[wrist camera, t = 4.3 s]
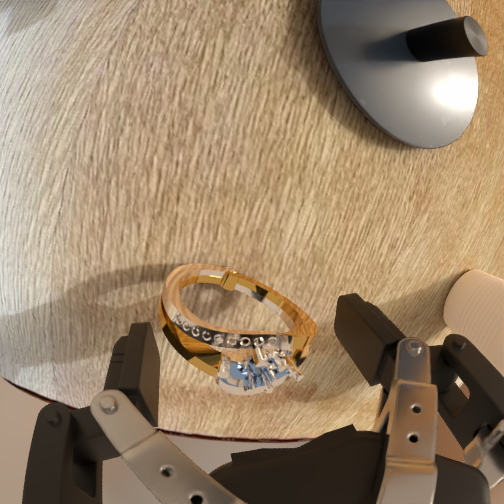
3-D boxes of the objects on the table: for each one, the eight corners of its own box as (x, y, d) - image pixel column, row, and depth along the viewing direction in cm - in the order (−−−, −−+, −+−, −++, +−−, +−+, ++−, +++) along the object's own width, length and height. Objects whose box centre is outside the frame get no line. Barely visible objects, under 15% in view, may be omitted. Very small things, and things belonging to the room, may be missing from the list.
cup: (416, 303, 21) (504, 387, 11) (483, 227, 20) (573, 279, 10) (435, 351, 25) (495, 417, 15) (491, 289, 24) (555, 339, 14)
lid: (317, 139, 14) (385, 146, 9) (301, -58, 9) (343, -106, 3) (469, 155, 17) (528, 172, 11) (454, 3, 11) (507, -6, 6)
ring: (293, 269, 17) (360, 361, 10) (268, 312, 18) (314, 415, 10) (179, 225, 14) (171, 317, 7) (159, 277, 15) (144, 390, 8)
